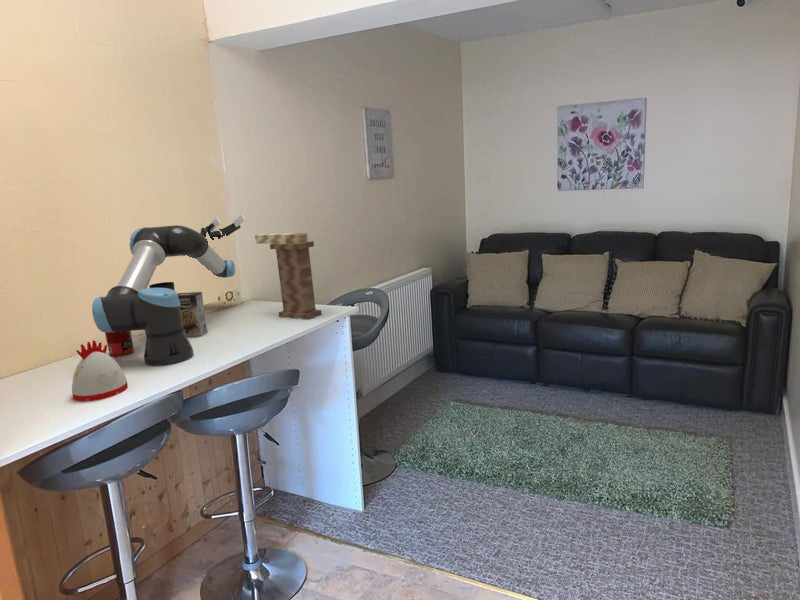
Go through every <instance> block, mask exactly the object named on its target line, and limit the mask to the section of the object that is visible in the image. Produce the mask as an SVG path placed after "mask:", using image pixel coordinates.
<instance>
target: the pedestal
mask: <svg viewBox="0 0 800 600" xmlns="http://www.w3.org/2000/svg"><path fill="white" fill-rule="evenodd" d="M314 242H315V241H312V240H311V241H310V240H308V242H304V243H299V244H286V243H276V244H269V248H270V250H275V254H276V260H277V269H278V277H279V287H280V294H281V301H282V308H283V310H281V311H279V312H278V317H279V318H285V317H290V318H289V319H297V318H302V319H301V320H308V319H309V320H311V319H314V318H316V316H317V317H319V316H322V309H316V308H317V307H316V299H315V292H314V283H313V274H312V273H313V272H312V267H311V266H312V265H311V256H310V248H314V247H315V243H314ZM313 317H314V318H313Z"/></svg>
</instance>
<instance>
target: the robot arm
mask: <svg viewBox="0 0 800 600" xmlns="http://www.w3.org/2000/svg"><path fill="white" fill-rule="evenodd" d="M245 221H246V218H245V216H244V215H243V213H241V214H240V215H239V216H238V217H237V218H236V219H235V220H233V223H231V224H229V225H227V226H225V227H223V228H219V229H218V230H220V231H217V230H216V229H217V228H218V227H219V225H221V224H222V222H221V221H220V219H219V217H215V219H213V220H212V222H211V223H210V224H209V225H207V226H205V227H202V228H200V232H199V231H197V230H194V229H193V228H190V227H187V226H184V225H176V224H175V225H166V226H165V225H164V226H162V225H161V226H153V227H149V226H148V227H145V226H144V227H142V228H137V229H135V230H134V231H133V232H132V233H131V235H130V238H129V239H130V240H129V241H130V242H129V250H130V252H131V255H132V257H131V260H130V262H128V265H127V268H126V269H125V270H124V273H123V274H122V276H121V278H120V280H119V282H118V283H117V285H115V286H113V287H111V288H110V289H109V290H108V292H107V293H106V296H98V297H96V298H95V299H94V300H93V302H92V306H91V313H92V317H93V322H94V325H95V326H96V327H97V329H98V330H99V331H100V332H102V333H105V332H112V333H115V332H125V331H131V332H135V331H144V332H145V338H146V341H145V347H144V353H143V361H144V364H145V365H146V366H152V367H153V366H155V367H156V366H166V365H167V366H168V365H172V364H176V363H177V364H178V363H180V362H184V361H187V360H189V359H191V358H192V357H194V349H193V346H192V344H191V343H190V341H189V338H188V337H186V335H185V333H184V328H183V321H182V314H181V308H180V302H179V298H178V294H179V293H178V292H177V291H176V290H175V289H174V290H175V291H174V290H172V289H169V288H149V285H150V284H149V283H150V281H151V279H152V277H153V275H154V273H155V271H156V269H157V267H158V266H160V265H162V264H163V262H165V260H166V258H169V257H181V256H182V257H183V256H185V255H187V256H189V257H192V258H195V259H197V260H198V261H199V262H200V263H201V264H202V265H204V266H205V267H206V268H207V269H208V270H210V271H211V272H212V273H213V274H214V275H216V276H218V277H222V278H221V279H223V278H224V279H226V278H231V277H234V276H235V274H236V266H235V263H234V261H233V260H232V259H223V258H222V257H221V256H220V255H219V254H218V253H217V252H216V251H215V249H214V248H213V249H212V248H211V247H210V246H209V245H208V241H207V239H206V238H205V237H206V233H207V232H208V234H209V236H210V238H211V239H212V240H214V238H213V237H218V239H219V240H220V239H221V238H222V239H223V236H225V234H226V236H227V237H228V236H230V235H231V234H233V233H234V232H236V231H237V230H239V229H241V224H242V223H243V222H245ZM221 232H222V235H221Z"/></svg>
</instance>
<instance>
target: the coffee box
mask: <svg viewBox="0 0 800 600" xmlns="http://www.w3.org/2000/svg"><path fill="white" fill-rule="evenodd" d="M177 294H178V298H179V302H180V308H181V314H182V321H183V328H184V333H185V335H186V337H187V338H195V337H196V338H197V337H198V336H201V337H203V336H204V335H206V334H207V333H208V328H207V327H208V325H207V320H206V313H205V307H204V306H205V305H204V299H203V298H204V297H203V292H202V291H195V292H194V291H193V292H179V293H177ZM206 332H207V333H206ZM205 333H206V334H205ZM202 335H203V336H202Z"/></svg>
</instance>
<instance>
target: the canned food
mask: <svg viewBox="0 0 800 600" xmlns="http://www.w3.org/2000/svg"><path fill="white" fill-rule="evenodd" d="M104 334H105V340H106V345H107V349H108V353H109V354H108V355H109V356H110V357H112V356H113V357H112V358H117V357H118V356H120V357H125V355H126V356H129V355H131V354H133V353H134V352H135V351H134V349H135V348H134V344H133V338H132V331H125V332H115V333H112V332H104ZM128 354H129V355H128ZM118 358H119V357H118Z"/></svg>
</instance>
